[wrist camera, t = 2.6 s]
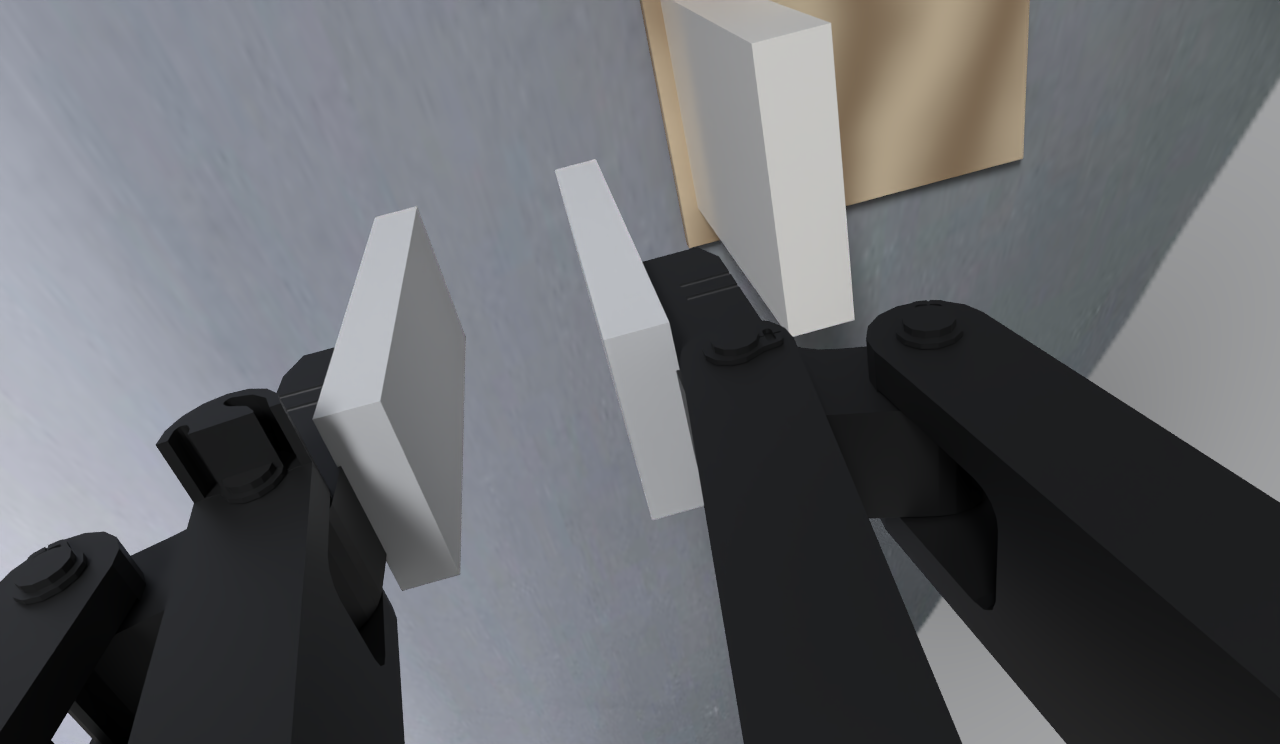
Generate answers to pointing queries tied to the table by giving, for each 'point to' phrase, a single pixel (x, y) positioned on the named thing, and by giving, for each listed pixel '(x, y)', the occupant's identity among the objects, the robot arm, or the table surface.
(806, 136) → the tile
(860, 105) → the mat
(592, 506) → the table surface
